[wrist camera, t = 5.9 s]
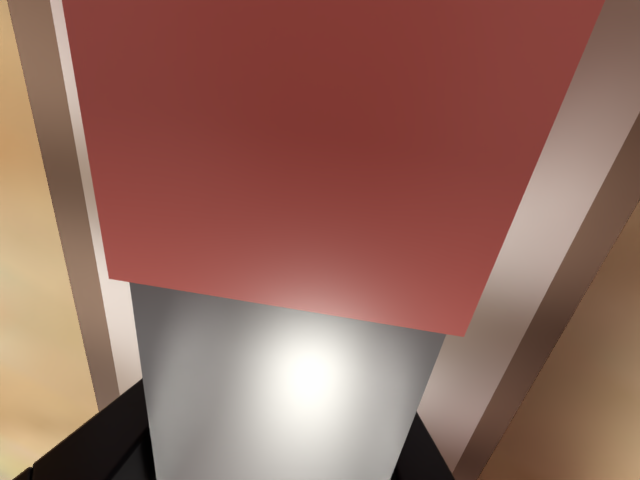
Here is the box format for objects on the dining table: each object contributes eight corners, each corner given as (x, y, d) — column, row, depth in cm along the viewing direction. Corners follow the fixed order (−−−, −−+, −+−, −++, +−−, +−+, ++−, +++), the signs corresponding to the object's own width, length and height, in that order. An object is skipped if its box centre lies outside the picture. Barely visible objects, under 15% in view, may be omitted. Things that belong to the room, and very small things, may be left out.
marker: (331, 516, 13) (320, 679, 10) (219, 496, 14) (172, 653, 10) (476, -7, 6) (615, -25, 3) (220, -45, 6) (42, -110, 3)
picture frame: (455, 501, 15) (458, 519, 14) (113, 442, 15) (104, 457, 15) (933, -354, 5) (1000, -398, 4) (-79, -488, 5) (-127, -542, 5)
